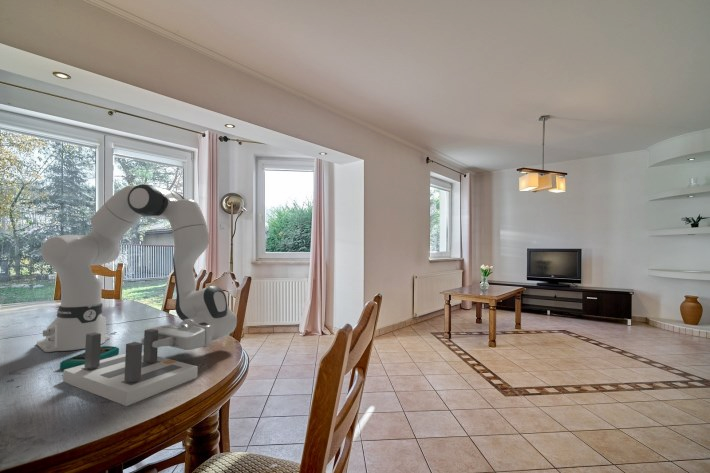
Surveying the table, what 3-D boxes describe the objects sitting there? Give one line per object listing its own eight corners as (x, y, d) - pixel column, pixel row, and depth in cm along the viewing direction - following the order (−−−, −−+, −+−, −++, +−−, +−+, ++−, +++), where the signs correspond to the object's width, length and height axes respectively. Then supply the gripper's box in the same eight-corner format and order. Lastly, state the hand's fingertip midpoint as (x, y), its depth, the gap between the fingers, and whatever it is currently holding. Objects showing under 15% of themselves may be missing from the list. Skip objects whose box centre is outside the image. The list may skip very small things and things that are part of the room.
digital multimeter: (120, 354, 107) (120, 345, 107) (84, 371, 92) (85, 361, 92) (97, 354, 106) (98, 345, 106) (58, 371, 91) (58, 360, 92)
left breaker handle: (84, 367, 85) (86, 334, 85) (93, 364, 87) (94, 332, 87) (90, 368, 84) (92, 335, 84) (99, 366, 85) (100, 333, 86)
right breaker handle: (124, 380, 77) (126, 343, 77) (133, 377, 79) (134, 341, 79) (131, 382, 76) (133, 345, 76) (140, 379, 78) (142, 343, 78)
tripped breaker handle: (143, 361, 90) (144, 330, 90) (150, 359, 92) (151, 328, 92) (149, 363, 88) (151, 331, 89) (157, 360, 90) (158, 330, 91)
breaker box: (62, 381, 84) (63, 369, 84) (135, 360, 100) (135, 350, 100) (126, 406, 71) (127, 391, 72) (197, 377, 88) (197, 365, 88)
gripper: (171, 318, 107) (126, 327, 94) (214, 325, 98) (171, 336, 85) (170, 337, 106) (125, 349, 94) (214, 346, 97) (170, 360, 85)
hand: (147, 343), depth 89 cm, fingers closed on tripped breaker handle, 3 cm apart
